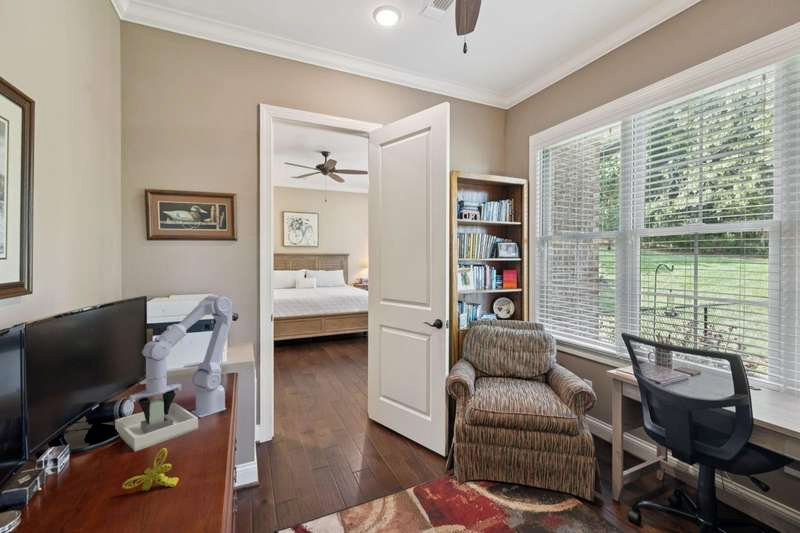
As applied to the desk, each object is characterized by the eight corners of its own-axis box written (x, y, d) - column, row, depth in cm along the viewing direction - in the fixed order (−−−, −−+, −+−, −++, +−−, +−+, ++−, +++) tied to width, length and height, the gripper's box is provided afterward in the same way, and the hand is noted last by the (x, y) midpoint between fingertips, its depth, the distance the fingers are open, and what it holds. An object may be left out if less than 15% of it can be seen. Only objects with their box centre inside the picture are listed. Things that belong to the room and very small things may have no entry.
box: (175, 413, 133) (174, 402, 133) (198, 429, 121) (198, 417, 121) (115, 431, 119) (115, 419, 119) (134, 451, 107) (134, 438, 107)
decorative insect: (149, 510, 89) (119, 487, 87) (154, 502, 92) (124, 480, 90) (190, 471, 91) (162, 448, 89) (193, 465, 94) (166, 442, 92)
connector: (164, 421, 123) (163, 398, 123) (164, 426, 120) (163, 402, 119) (149, 424, 121) (149, 401, 120) (149, 429, 117) (149, 405, 117)
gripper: (175, 369, 128) (176, 406, 128) (126, 380, 117) (127, 420, 117) (183, 373, 124) (184, 411, 124) (133, 384, 112) (134, 427, 112)
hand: (156, 416), depth 120 cm, fingers closed on connector, 5 cm apart
